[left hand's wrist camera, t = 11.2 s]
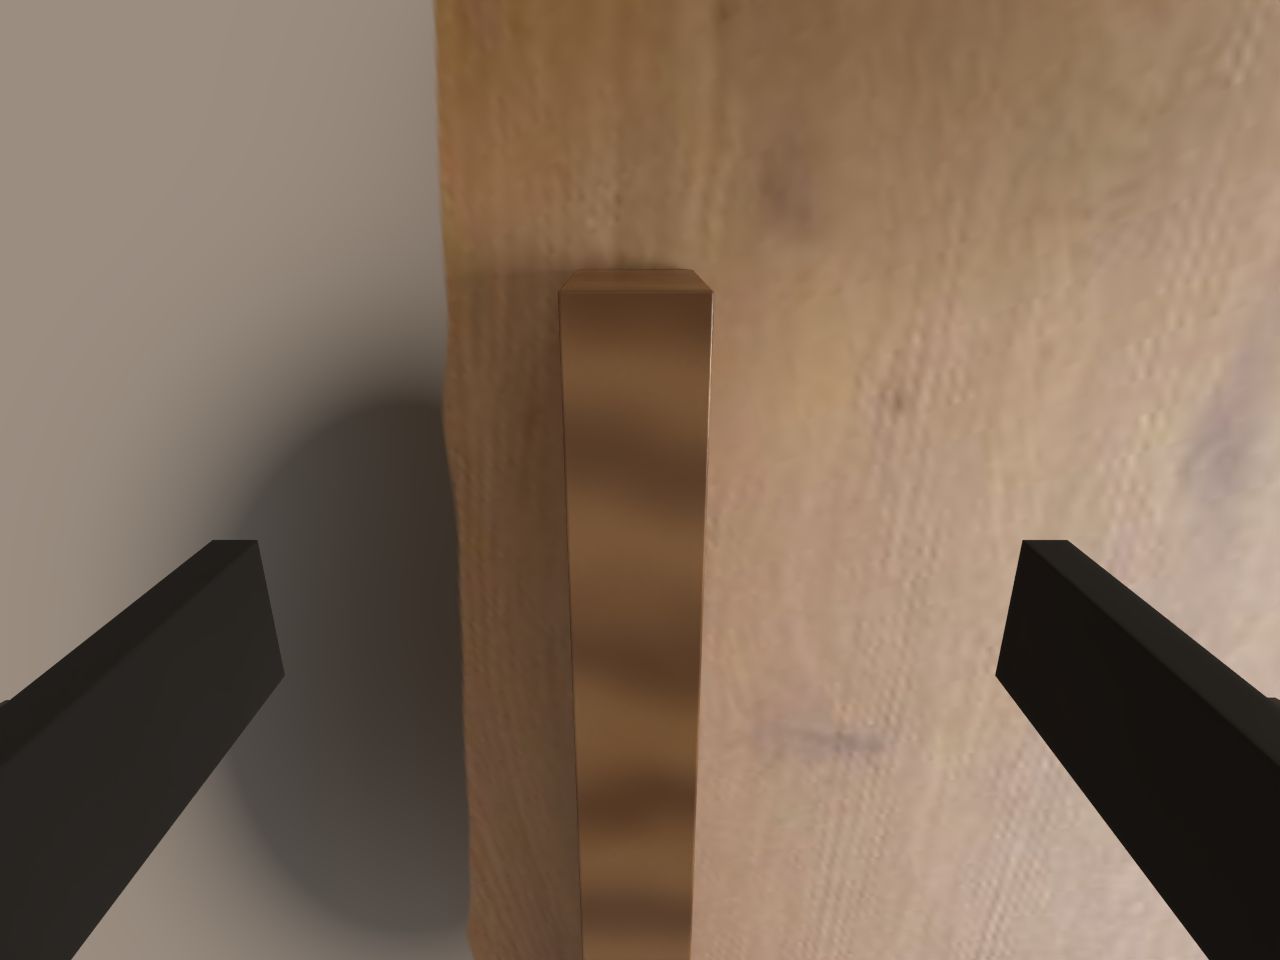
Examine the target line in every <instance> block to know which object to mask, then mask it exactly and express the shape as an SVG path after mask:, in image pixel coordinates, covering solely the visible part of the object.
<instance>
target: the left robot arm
mask: <svg viewBox="0 0 1280 960" xmlns="http://www.w3.org/2000/svg"><path fill="white" fill-rule="evenodd" d="M284 676H285V675H284V670H283V665H282V660H281V655H280V650H279V645H278V640H277V635H276V630H275V625H274V620H273V615H272V610H271V605H270V600H269V595H268V590H267V586H266V580H265V576H264V571H263V566H262V561H261V556H260V551H259V546H258V541H257V540H212V541H211V542H210V543H208V544H207V545H206V546H205V547H203V548H202V549H201V550H200V551H198V552H197V553H196V554H194V555H193V556H192V557H191V558H189V559H188V560H187V561H186V562H184V563H183V564H182V565H181V566H179V567H178V568H177V569H176V570H174V571H173V572H172V573H170V574H169V575H168V576H167V577H165V578H164V579H163V580H162V581H160V582H159V583H158V584H157V585H155V586H154V587H153V588H151V589H150V590H149V591H148V592H146V593H145V594H144V595H143V596H141V597H140V598H139V599H137V600H136V601H135V602H134V603H132V604H131V605H130V606H129V607H127V608H126V609H125V610H124V611H122V612H121V613H120V614H118V615H117V616H116V617H115V618H113V619H112V620H111V621H110V622H108V623H107V624H106V625H104V626H103V627H102V628H101V629H99V630H98V631H97V632H96V633H94V634H93V635H92V636H91V637H89V638H88V639H87V640H85V641H84V642H83V643H82V644H80V645H79V646H78V647H77V648H75V649H74V650H73V651H72V652H70V653H69V654H68V655H66V656H65V657H64V658H63V659H61V660H60V661H59V662H58V663H56V664H55V665H54V666H53V667H51V668H50V669H49V670H47V671H46V672H45V673H44V674H42V675H41V676H40V677H39V678H37V679H36V680H35V681H34V682H32V683H31V684H30V685H28V686H27V687H26V688H25V689H23V690H22V691H21V692H20V693H18V694H17V695H16V696H15V697H13V698H12V699H11V700H5V701H4V702H2V703H0V960H71V959H72V958H73V956H74V955H75V954H76V952H77V951H78V950H79V948H80V947H81V946H82V944H83V943H84V942H85V940H86V939H87V938H88V936H89V935H90V934H91V932H92V931H93V930H94V928H95V927H96V926H97V924H98V923H99V922H100V920H101V919H102V918H103V916H104V915H105V914H106V912H107V911H108V910H109V909H110V907H111V906H112V904H113V903H114V902H115V901H116V899H117V898H118V896H119V895H120V894H121V893H122V891H123V890H124V889H125V887H126V886H127V885H128V883H129V882H130V881H131V879H132V878H133V877H134V875H135V874H136V872H137V871H138V870H139V869H140V867H141V866H142V865H143V863H144V862H145V861H146V859H147V858H148V857H149V855H150V854H151V853H152V851H153V850H154V849H155V847H156V846H157V845H158V843H159V842H160V841H161V839H162V838H163V837H164V835H165V834H166V833H167V831H168V830H169V829H170V827H171V826H172V825H173V823H174V822H175V821H176V819H177V818H178V817H179V815H180V814H181V813H182V811H183V810H184V809H185V807H186V806H187V805H188V803H189V802H190V801H191V799H192V798H193V797H194V795H195V794H196V793H197V791H198V790H199V789H200V787H201V786H202V785H203V783H204V782H205V781H206V780H207V778H208V777H209V776H210V774H211V773H212V771H213V770H214V769H215V768H216V766H217V765H218V764H219V762H220V761H221V759H222V758H223V757H224V756H225V754H226V753H227V752H228V750H229V749H230V748H231V746H232V745H233V744H234V742H235V741H236V740H237V738H238V737H239V736H240V734H241V733H242V732H243V730H244V729H245V728H246V726H247V725H248V724H249V722H250V721H251V720H252V718H253V717H254V716H255V714H256V713H257V712H258V710H259V709H260V708H261V706H262V705H263V704H264V702H265V701H266V700H267V698H268V697H269V696H270V694H271V693H272V692H273V690H274V689H275V688H276V686H277V685H278V684H279V682H280V681H281V680H282V678H283V677H284ZM995 676H996V677H997V678H998V680H999V681H1000V682H1001V684H1002V685H1003V686H1004V688H1005V689H1006V690H1007V692H1008V693H1009V694H1010V696H1011V697H1012V698H1013V700H1014V701H1015V702H1016V704H1017V705H1018V706H1019V708H1020V709H1021V710H1022V712H1023V713H1024V714H1025V716H1026V717H1027V718H1028V720H1029V721H1030V722H1031V724H1032V725H1033V726H1034V728H1035V729H1036V730H1037V732H1038V733H1039V734H1040V736H1041V737H1042V738H1043V740H1044V741H1045V742H1046V744H1047V745H1048V746H1049V748H1050V749H1051V750H1052V752H1053V753H1054V754H1055V756H1056V757H1057V758H1058V760H1059V761H1060V762H1061V764H1062V765H1063V766H1064V768H1065V769H1066V770H1067V772H1068V773H1069V774H1070V776H1071V777H1072V778H1073V780H1074V781H1075V782H1076V784H1077V785H1078V786H1079V787H1080V789H1081V790H1082V791H1083V793H1084V794H1085V795H1086V797H1087V798H1088V799H1089V801H1090V802H1091V803H1092V805H1093V806H1094V807H1095V809H1096V810H1097V811H1098V813H1099V814H1100V815H1101V817H1102V818H1103V819H1104V821H1105V822H1106V823H1107V825H1108V826H1109V827H1110V829H1111V830H1112V831H1113V833H1114V834H1115V835H1116V837H1117V838H1118V839H1119V841H1120V842H1121V843H1122V845H1123V846H1124V847H1125V849H1126V850H1127V851H1128V853H1129V854H1130V855H1131V857H1132V858H1133V859H1134V861H1135V862H1136V863H1137V865H1138V866H1139V867H1140V869H1141V870H1142V871H1143V873H1144V874H1145V875H1146V877H1147V878H1148V879H1149V881H1150V882H1151V883H1152V885H1153V886H1154V887H1155V889H1156V890H1157V891H1158V893H1159V894H1160V895H1161V897H1162V898H1163V899H1164V901H1165V902H1166V903H1167V905H1168V906H1169V907H1170V909H1171V910H1172V911H1173V913H1174V914H1175V915H1176V917H1177V918H1178V919H1179V920H1180V922H1181V923H1182V924H1183V926H1184V927H1185V928H1186V930H1187V931H1188V932H1189V934H1190V935H1191V936H1192V938H1193V939H1194V940H1195V942H1196V943H1197V944H1198V946H1199V947H1200V948H1201V950H1202V951H1203V952H1204V954H1205V955H1206V956H1207V958H1208V959H1209V960H1280V700H1279V699H1277V698H1267V697H1265V696H1264V695H1263V694H1262V693H1260V692H1259V691H1258V690H1257V689H1255V688H1254V687H1253V686H1252V685H1250V684H1249V683H1248V682H1246V681H1245V680H1244V679H1243V678H1241V677H1240V676H1239V675H1238V674H1236V673H1235V672H1234V671H1233V670H1231V669H1230V668H1229V667H1227V666H1226V665H1225V664H1224V663H1222V662H1221V661H1220V660H1219V659H1217V658H1216V657H1215V656H1214V655H1212V654H1211V653H1210V652H1208V651H1207V650H1206V649H1205V648H1203V647H1202V646H1201V645H1200V644H1198V643H1197V642H1196V641H1195V640H1193V639H1192V638H1191V637H1189V636H1188V635H1187V634H1186V633H1184V632H1183V631H1182V630H1181V629H1179V628H1178V627H1177V626H1176V625H1174V624H1173V623H1172V622H1170V621H1169V620H1168V619H1167V618H1165V617H1164V616H1163V615H1162V614H1160V613H1159V612H1158V611H1156V610H1155V609H1154V608H1153V607H1151V606H1150V605H1149V604H1148V603H1146V602H1145V601H1144V600H1143V599H1141V598H1140V597H1139V596H1137V595H1136V594H1135V593H1134V592H1132V591H1131V590H1130V589H1129V588H1127V587H1126V586H1125V585H1124V584H1122V583H1121V582H1120V581H1118V580H1117V579H1116V578H1115V577H1113V576H1112V575H1111V574H1110V573H1108V572H1107V571H1106V570H1105V569H1103V568H1102V567H1101V566H1099V565H1098V564H1097V563H1096V562H1094V561H1093V560H1092V559H1091V558H1089V557H1088V556H1087V555H1086V554H1084V553H1083V552H1082V551H1080V550H1079V549H1078V548H1077V547H1075V546H1074V545H1073V544H1072V543H1070V542H1069V541H1068V540H1023V541H1022V546H1021V551H1020V556H1019V561H1018V566H1017V571H1016V575H1015V580H1014V585H1013V590H1012V595H1011V600H1010V605H1009V610H1008V615H1007V620H1006V625H1005V630H1004V635H1003V640H1002V645H1001V650H1000V655H999V660H998V665H997V670H996V675H995Z"/></svg>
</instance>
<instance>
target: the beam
mask: <svg viewBox="0 0 1280 960" xmlns="http://www.w3.org/2000/svg"><path fill="white" fill-rule="evenodd" d="M558 305H559V332H560V359H561V386H562V413H563V441H564V468H565V495H566V522H567V549H568V576H569V604H570V631H571V658H572V685H573V712H574V739H575V766H576V794H577V821H578V848H579V875H580V902H581V929H582V957H583V960H691V940H692V912H693V883H694V855H695V826H696V798H697V769H698V741H699V712H700V684H701V655H702V627H703V598H704V570H705V541H706V513H707V485H708V456H709V428H710V399H711V371H712V342H713V314H714V292H713V290H712V289H711V288H710V287H709V286H708V285H707V284H706V283H705V282H704V281H703V280H702V279H701V278H700V277H699V276H698V275H697V274H696V273H695V272H694V271H693V270H577V271H576V272H575V273H574V274H573V276H572V277H571V278H570V279H569V280H568V281H567V283H566V284H565V285H564V286H563V287H562V288H561V289H560V291H559V292H558Z"/></svg>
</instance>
